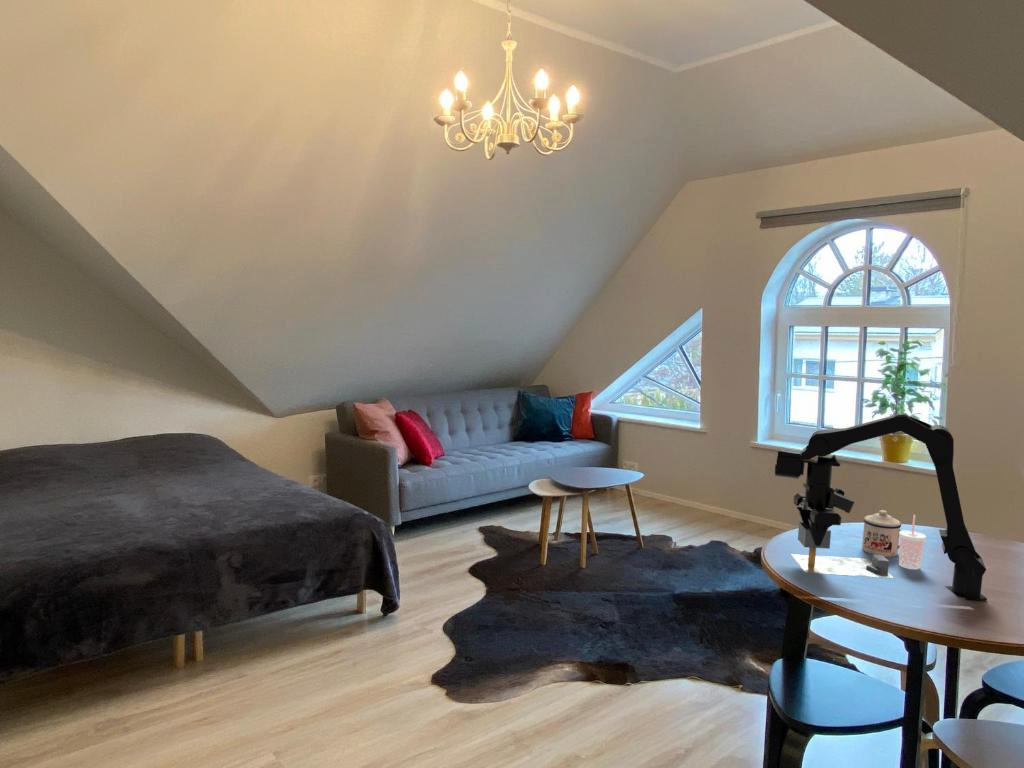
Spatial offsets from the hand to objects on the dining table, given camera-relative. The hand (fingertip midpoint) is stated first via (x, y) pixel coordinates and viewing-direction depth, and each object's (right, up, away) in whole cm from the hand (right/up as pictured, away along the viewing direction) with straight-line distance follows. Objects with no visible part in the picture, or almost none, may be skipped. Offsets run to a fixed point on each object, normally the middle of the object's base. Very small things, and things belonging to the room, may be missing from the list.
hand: (813, 541), depth 188 cm
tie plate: (+7, -7, +1) cm, 10 cm away
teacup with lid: (+24, -6, +13) cm, 28 cm away
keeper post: (0, -7, +1) cm, 7 cm away
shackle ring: (0, -1, 0) cm, 1 cm away
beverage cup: (+25, -8, +3) cm, 27 cm away
